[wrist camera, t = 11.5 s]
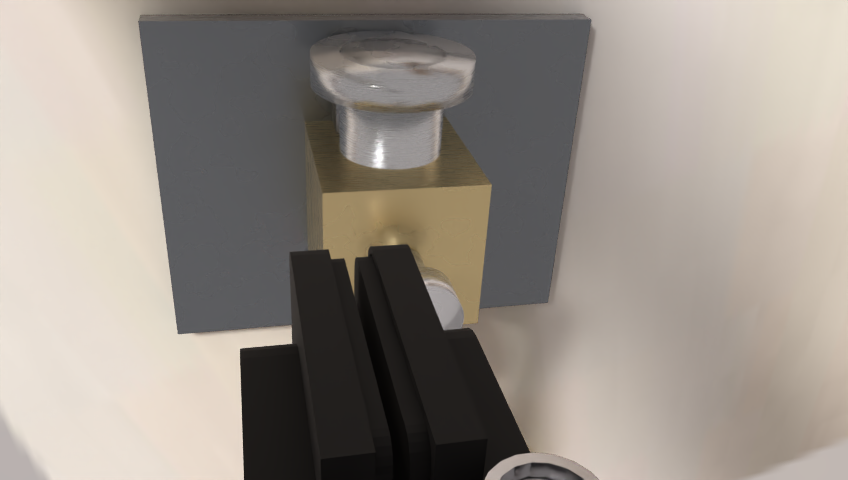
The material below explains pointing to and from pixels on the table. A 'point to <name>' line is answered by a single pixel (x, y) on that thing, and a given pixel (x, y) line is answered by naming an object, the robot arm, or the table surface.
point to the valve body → (359, 150)
